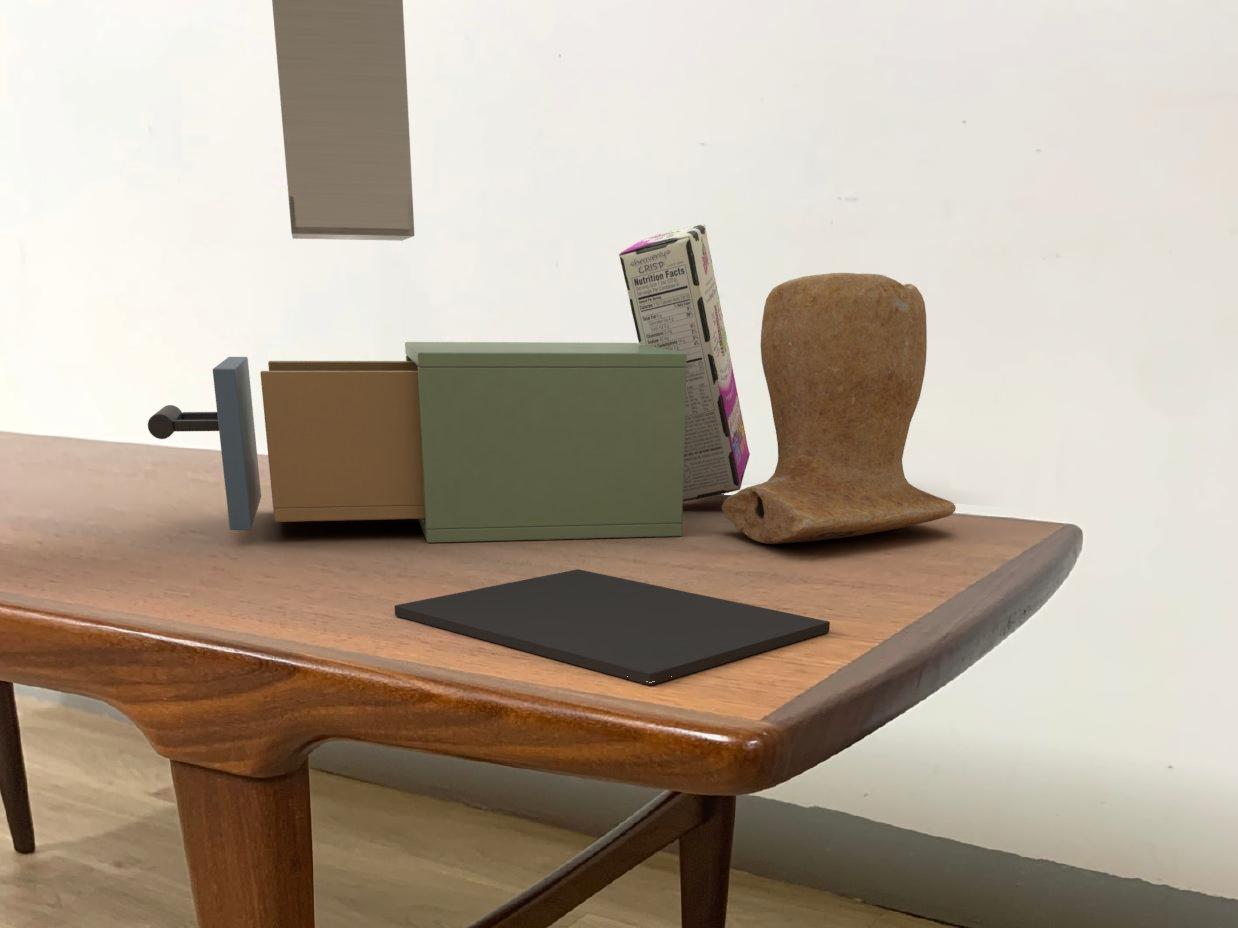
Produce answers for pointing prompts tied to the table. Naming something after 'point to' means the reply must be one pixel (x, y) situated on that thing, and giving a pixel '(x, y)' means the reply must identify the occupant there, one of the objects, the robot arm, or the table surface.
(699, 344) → the candy bar box
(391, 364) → the drawer
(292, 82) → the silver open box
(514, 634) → the desk pad
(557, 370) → the cabinet
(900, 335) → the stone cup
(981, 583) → the table surface
